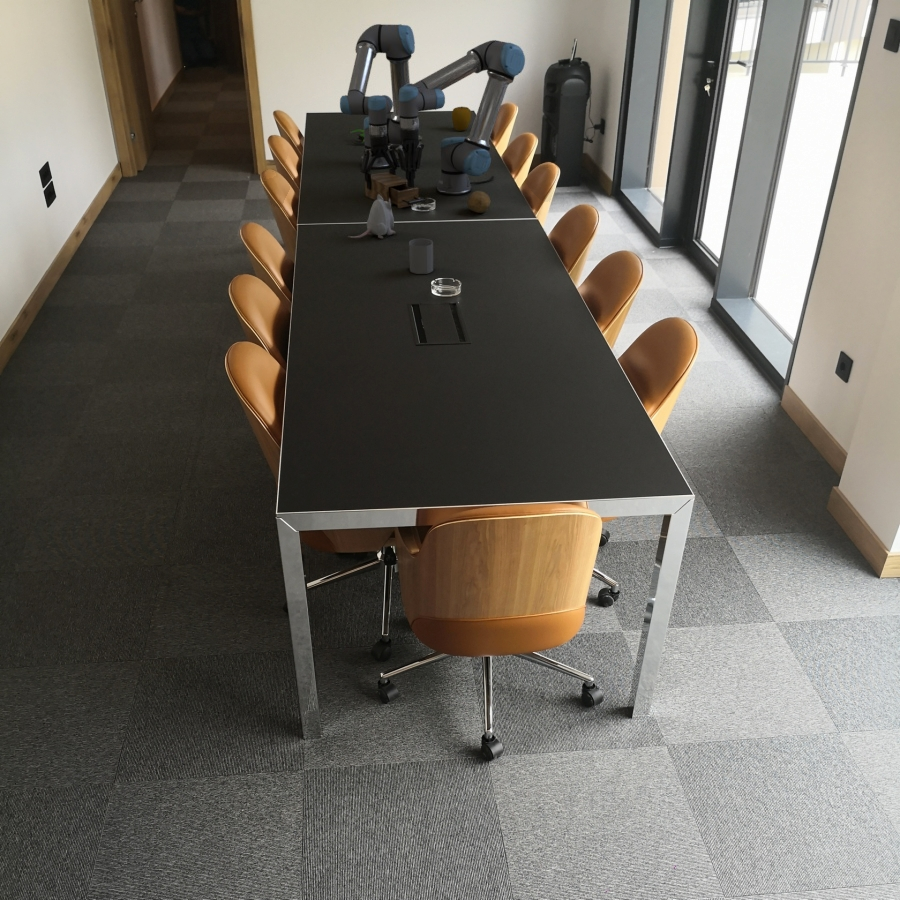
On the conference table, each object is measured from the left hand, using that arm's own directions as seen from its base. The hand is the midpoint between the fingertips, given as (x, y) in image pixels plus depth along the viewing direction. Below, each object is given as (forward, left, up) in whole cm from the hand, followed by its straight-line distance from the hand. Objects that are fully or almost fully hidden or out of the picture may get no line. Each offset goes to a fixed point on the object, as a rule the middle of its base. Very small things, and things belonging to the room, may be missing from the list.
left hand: (380, 186), depth 382 cm
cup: (+63, +68, -4) cm, 93 cm away
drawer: (+6, +16, -3) cm, 17 cm away
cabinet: (+2, +5, -4) cm, 6 cm away
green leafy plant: (-76, -63, -4) cm, 99 cm away
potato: (-5, +48, -4) cm, 49 cm away
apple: (-125, -41, -4) cm, 132 cm away
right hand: (+8, +23, +5) cm, 25 cm away
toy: (+47, +32, -4) cm, 57 cm away
